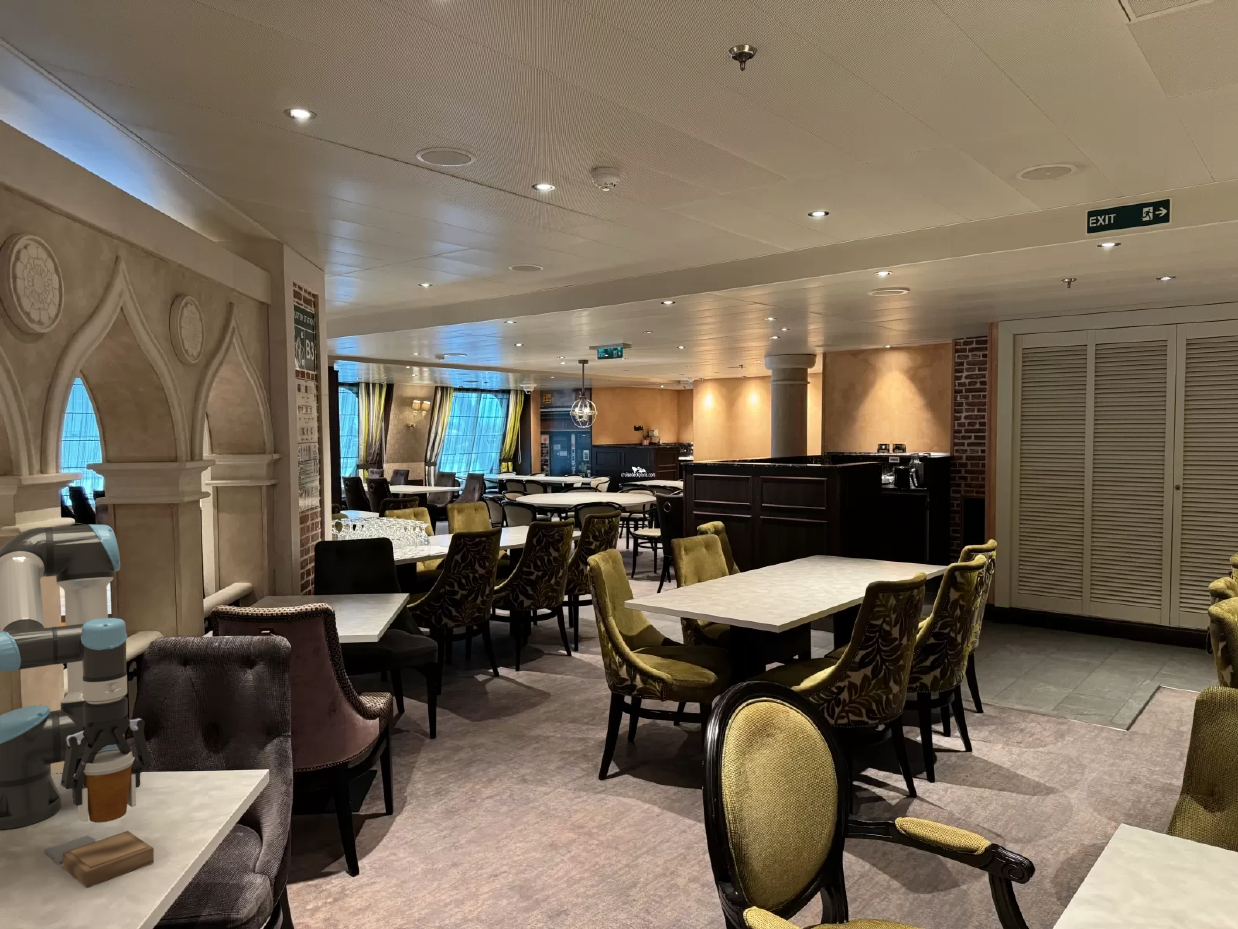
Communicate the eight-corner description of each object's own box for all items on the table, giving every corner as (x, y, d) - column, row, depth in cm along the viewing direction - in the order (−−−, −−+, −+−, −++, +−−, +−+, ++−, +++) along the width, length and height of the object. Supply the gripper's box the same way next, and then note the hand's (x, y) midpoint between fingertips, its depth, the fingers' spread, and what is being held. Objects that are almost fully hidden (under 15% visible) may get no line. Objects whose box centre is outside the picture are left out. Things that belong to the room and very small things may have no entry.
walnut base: (62, 867, 168) (62, 851, 168) (128, 845, 177) (127, 829, 177) (87, 887, 161) (86, 870, 160) (153, 862, 170) (153, 846, 170)
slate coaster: (44, 852, 174) (44, 849, 174) (87, 838, 180) (87, 835, 180) (59, 864, 169) (59, 861, 169) (103, 849, 175) (103, 846, 175)
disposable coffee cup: (109, 828, 163) (108, 767, 163) (67, 824, 165) (66, 763, 164) (146, 807, 172) (145, 749, 172) (106, 804, 174) (105, 746, 174)
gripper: (52, 715, 157) (54, 837, 158) (168, 689, 174) (170, 799, 174) (37, 708, 162) (40, 825, 163) (152, 683, 178) (154, 790, 179)
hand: (107, 812), depth 168 cm, fingers closed on disposable coffee cup, 8 cm apart
